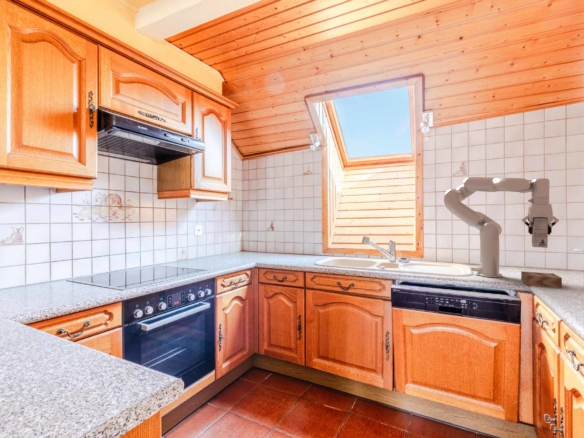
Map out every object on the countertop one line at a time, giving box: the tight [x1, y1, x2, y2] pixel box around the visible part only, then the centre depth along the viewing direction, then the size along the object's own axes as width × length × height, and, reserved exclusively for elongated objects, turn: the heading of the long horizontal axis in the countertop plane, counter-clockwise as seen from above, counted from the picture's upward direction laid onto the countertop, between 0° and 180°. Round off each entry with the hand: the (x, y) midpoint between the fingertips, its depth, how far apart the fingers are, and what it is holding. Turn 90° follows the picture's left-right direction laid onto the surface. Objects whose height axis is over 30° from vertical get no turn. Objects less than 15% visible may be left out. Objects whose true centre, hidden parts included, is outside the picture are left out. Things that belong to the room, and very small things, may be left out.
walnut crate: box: [520, 270, 563, 289], centre depth 160 cm, size 14×13×5 cm
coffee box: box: [531, 217, 549, 249], centre depth 167 cm, size 9×6×16 cm
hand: (539, 234), depth 167 cm, fingers closed on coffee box, 7 cm apart
